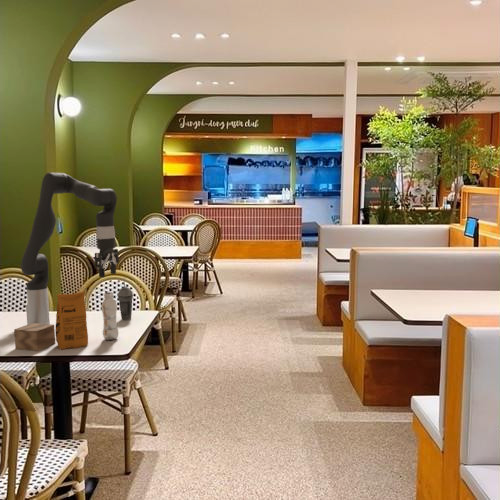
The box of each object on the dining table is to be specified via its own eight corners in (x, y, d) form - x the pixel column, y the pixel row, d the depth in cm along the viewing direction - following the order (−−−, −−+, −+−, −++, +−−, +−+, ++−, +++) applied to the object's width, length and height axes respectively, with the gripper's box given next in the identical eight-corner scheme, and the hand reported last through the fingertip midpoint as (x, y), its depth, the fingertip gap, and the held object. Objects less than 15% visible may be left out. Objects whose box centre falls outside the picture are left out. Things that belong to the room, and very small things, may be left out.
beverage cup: (121, 321, 286) (119, 280, 283) (117, 318, 292) (115, 277, 289) (135, 319, 289) (134, 278, 286) (131, 316, 295) (129, 276, 293)
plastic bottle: (121, 337, 256) (119, 291, 254) (113, 342, 250) (110, 295, 248) (108, 336, 258) (106, 291, 256) (99, 341, 252) (97, 294, 250)
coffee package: (55, 344, 249) (52, 292, 246) (86, 340, 253) (83, 289, 251) (57, 350, 240) (54, 296, 237) (89, 346, 244) (86, 293, 242)
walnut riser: (15, 348, 243) (14, 329, 242) (33, 341, 254) (32, 323, 253) (37, 350, 240) (36, 331, 239) (55, 343, 250) (54, 324, 249)
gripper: (107, 235, 257) (109, 272, 259) (88, 238, 243) (90, 278, 245) (122, 235, 254) (124, 273, 256) (104, 239, 241) (106, 278, 243)
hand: (107, 275), depth 251 cm, fingers open, 8 cm apart
